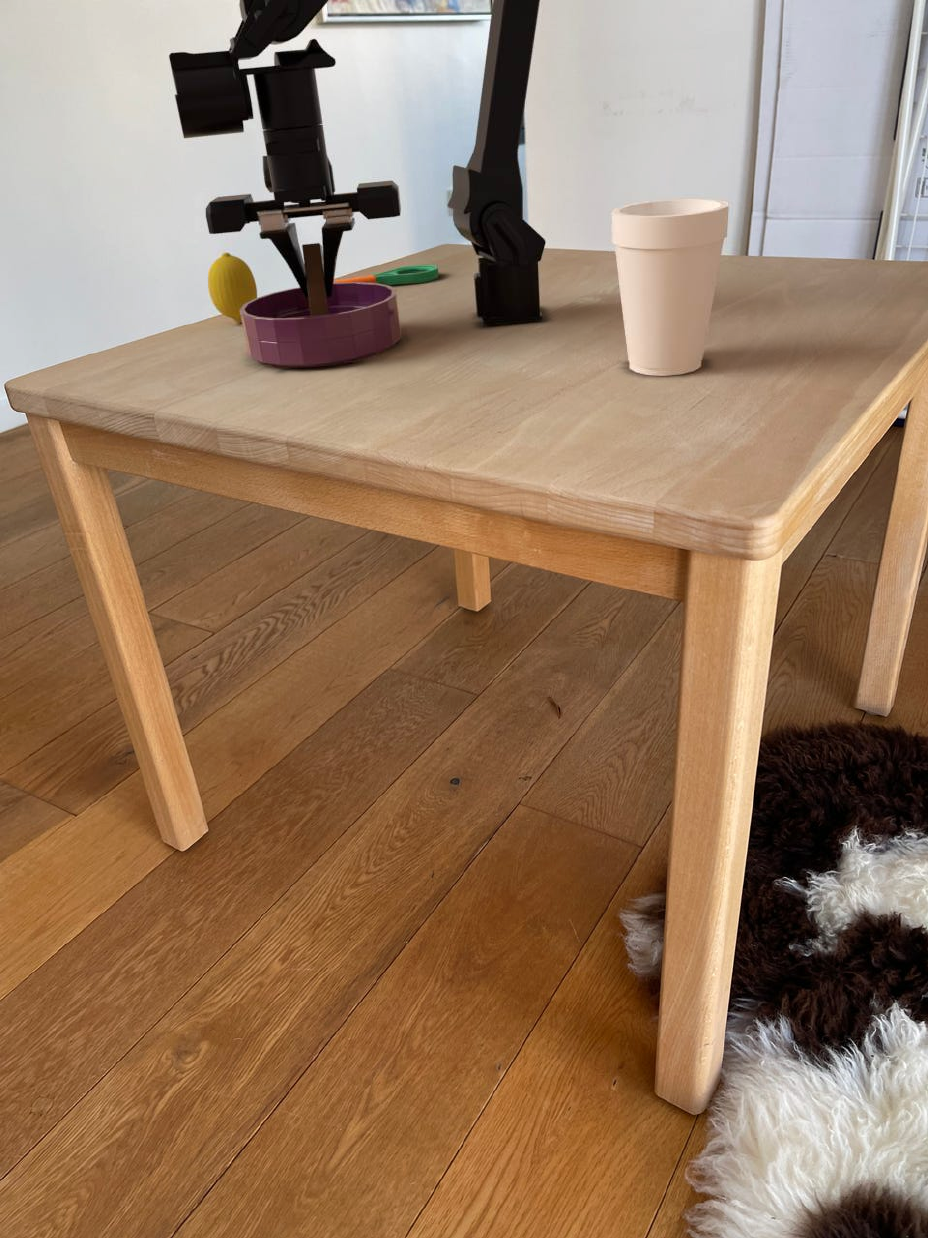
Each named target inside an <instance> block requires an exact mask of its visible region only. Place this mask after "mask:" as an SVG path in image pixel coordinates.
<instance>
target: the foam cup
mask: <svg viewBox="0 0 928 1238" xmlns="http://www.w3.org/2000/svg"><path fill="white" fill-rule="evenodd" d="M729 207H730V206H729V202H728V201H724V200H719V199H715V198H714V199H713V198H710V199H709V198H670V199H659V200H658V199H657V200H648V201H640V202H636V203H630V204H624V205H622V206H619V207H615V208H613V209H612V211H611V244H613V246H614V254H615V260H616V267H617V268H616V269H617V270H616V271H617V278H618V285H619V286H618V288H619V293H620V294H619V295H620V300H621V301H620V302H621V303H620V304H621V310H622V319H623V327H624V334H625V335H624V336H625V344H626V351H627V359H628V362H629V370H631V371H633V372H634V373H637V374H640V375H646V376H656V377H657V376H660V377H661V376H662V377H667V376H668V377H669V376H678V375H685V374H688V373H692V372H695V371H697V370H698V369H700V368H701V367H702V360H703V359H704V354H705V347H706V343H707V337H708V330H709V326H710V325H709V324H710V320H711V314H712V309H713V303H714V297H715V292H716V286H717V280H718V275H719V271H720V270H719V269H720V264H721V258H722V252H723V247H724V242H725V239H726V238H727V237H728V224H729Z"/></svg>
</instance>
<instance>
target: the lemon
mask: <svg viewBox="0 0 928 1238" xmlns="http://www.w3.org/2000/svg"><path fill="white" fill-rule="evenodd" d="M207 276H208V277H207V286H208V287H207V289H208V293H209V296H210V299H211V301H212V304H213V305H214V307H215V309H216V310H217V311H218V312H219V313H220V314H222V315H223V316H225V317H227V318H230V319H232V320H233V321H235V322H236V323H238V324H240V323H242V320H241V315H240V309H241V307H242V306H243V305H244V304H245V303H247V302H249V301H251V300H253V299H255V298H258V288H257V283H256V279H255V276H254V273H253V272H252V270H251V268H250V266H249V265H248V264H247V262H245V261H244V260H243V259H242V258H239V256H238V257H237V256H234V255H232V254H230V252H223V253H222V254H221V256H219V257H218V258H217V259H215V261H213V262H212V264H211V266H210V267H209V270H208V274H207Z"/></svg>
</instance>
